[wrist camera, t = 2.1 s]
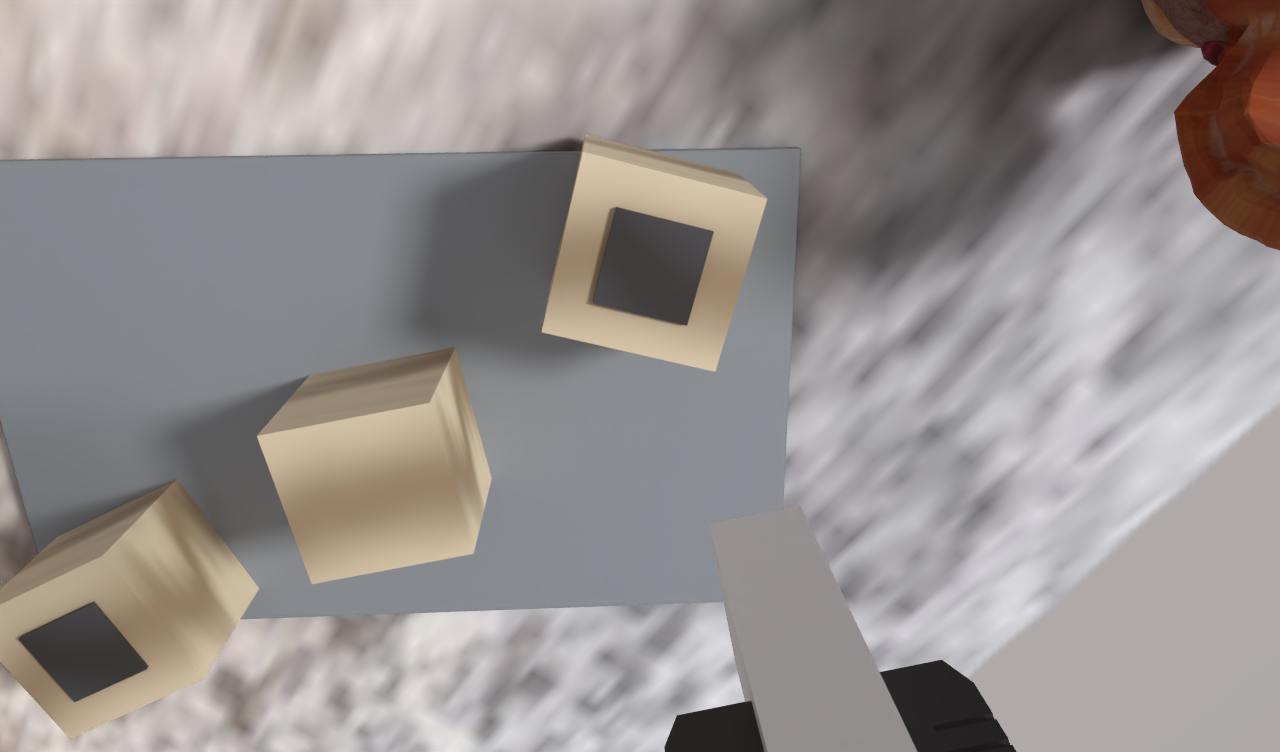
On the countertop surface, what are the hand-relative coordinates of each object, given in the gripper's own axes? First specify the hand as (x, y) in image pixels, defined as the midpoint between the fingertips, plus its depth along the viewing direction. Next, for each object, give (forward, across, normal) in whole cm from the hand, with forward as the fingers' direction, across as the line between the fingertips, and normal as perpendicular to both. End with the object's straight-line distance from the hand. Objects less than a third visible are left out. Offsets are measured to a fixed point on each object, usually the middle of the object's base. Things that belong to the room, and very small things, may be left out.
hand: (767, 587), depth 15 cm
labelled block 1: (+22, -24, -8) cm, 33 cm away
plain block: (+22, -12, -4) cm, 25 cm away
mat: (+23, -12, -3) cm, 26 cm away
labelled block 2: (+22, 0, +2) cm, 22 cm away
